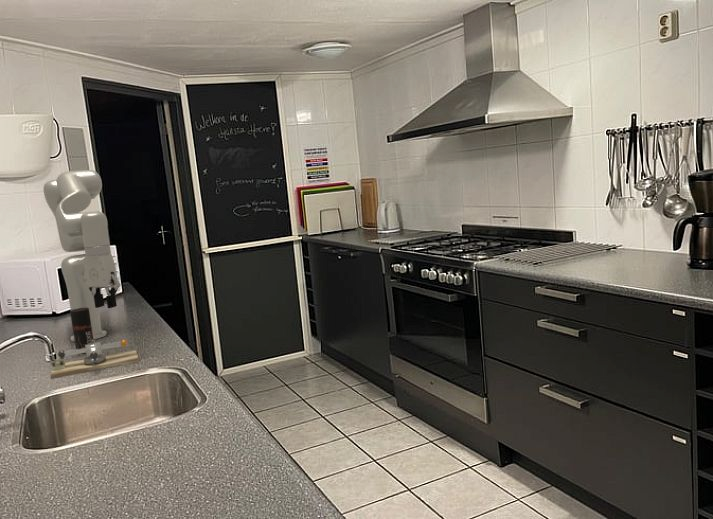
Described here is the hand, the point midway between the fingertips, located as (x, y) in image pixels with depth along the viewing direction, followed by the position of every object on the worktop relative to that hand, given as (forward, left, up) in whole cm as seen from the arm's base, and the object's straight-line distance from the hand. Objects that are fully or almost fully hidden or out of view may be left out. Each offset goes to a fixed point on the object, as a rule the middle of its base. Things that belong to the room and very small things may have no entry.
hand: (106, 306), depth 193 cm
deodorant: (-16, -8, -18) cm, 25 cm away
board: (+4, -5, -17) cm, 19 cm away
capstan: (+4, -5, -16) cm, 17 cm away
